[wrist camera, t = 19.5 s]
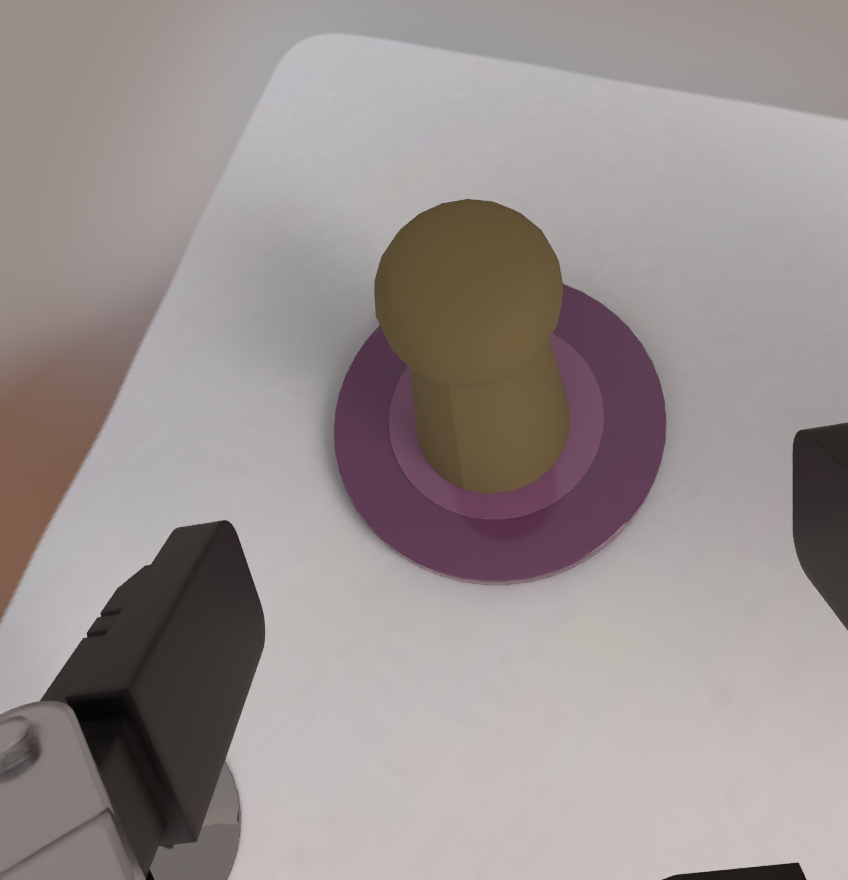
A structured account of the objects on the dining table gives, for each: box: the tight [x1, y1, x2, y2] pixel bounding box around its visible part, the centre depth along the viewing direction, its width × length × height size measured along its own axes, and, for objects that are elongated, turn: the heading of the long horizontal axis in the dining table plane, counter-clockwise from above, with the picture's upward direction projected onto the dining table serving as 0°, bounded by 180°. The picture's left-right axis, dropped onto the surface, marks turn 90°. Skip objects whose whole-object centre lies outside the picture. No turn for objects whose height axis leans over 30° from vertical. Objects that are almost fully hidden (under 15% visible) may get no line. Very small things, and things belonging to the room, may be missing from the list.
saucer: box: [334, 284, 666, 585], centre depth 30 cm, size 13×13×1 cm
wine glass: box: [150, 761, 241, 880], centre depth 20 cm, size 8×8×15 cm
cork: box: [374, 199, 571, 494], centre depth 24 cm, size 6×6×11 cm
